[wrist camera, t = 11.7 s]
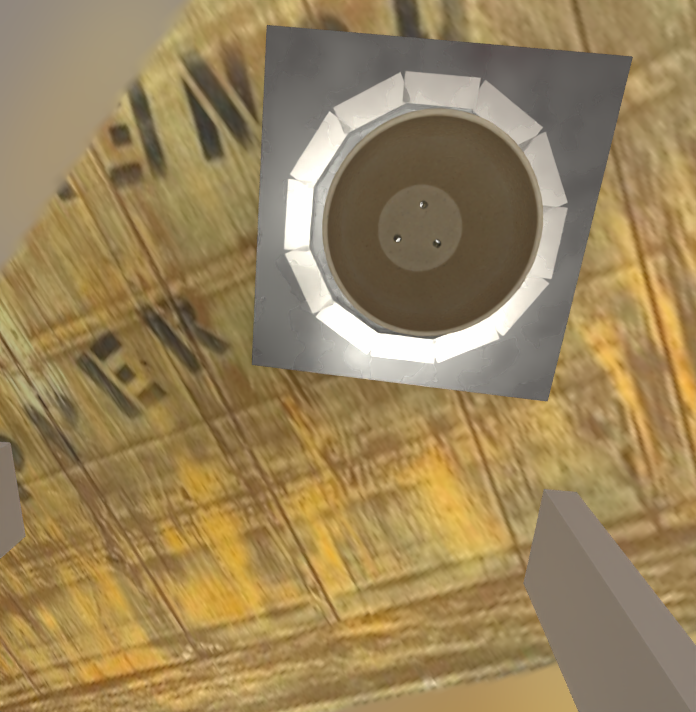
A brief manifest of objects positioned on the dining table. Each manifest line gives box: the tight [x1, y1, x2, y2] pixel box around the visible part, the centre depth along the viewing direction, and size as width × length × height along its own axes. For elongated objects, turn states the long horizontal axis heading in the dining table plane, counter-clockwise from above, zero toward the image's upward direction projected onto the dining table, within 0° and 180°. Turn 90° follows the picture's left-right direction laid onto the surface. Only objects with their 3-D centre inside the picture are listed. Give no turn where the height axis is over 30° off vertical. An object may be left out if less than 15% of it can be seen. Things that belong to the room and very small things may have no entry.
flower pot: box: [322, 108, 543, 336], centre depth 24 cm, size 10×10×7 cm
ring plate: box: [252, 25, 633, 401], centre depth 27 cm, size 20×20×2 cm
